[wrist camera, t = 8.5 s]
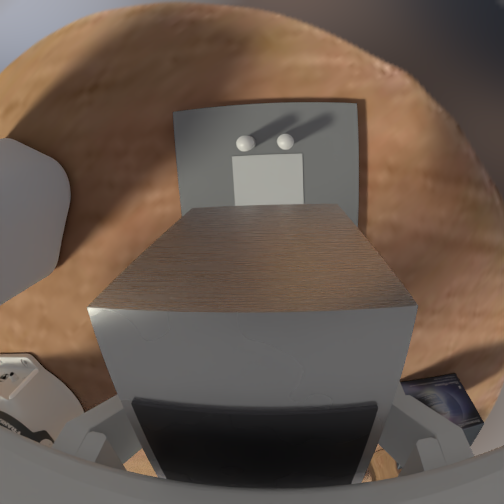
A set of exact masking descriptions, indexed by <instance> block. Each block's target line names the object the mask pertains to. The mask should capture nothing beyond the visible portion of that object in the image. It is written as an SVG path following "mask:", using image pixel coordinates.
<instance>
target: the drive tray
mask: <svg viewBox="0 0 504 504" xmlns="http://www.w3.org/2000/svg"><path fill="white" fill-rule="evenodd" d="M173 122H174V136H175V149H176V161H177V172H178V183H179V193H180V203H181V212H182V217H183V216H184V215H185V214H186V213H187V212H188V211H189V210H191V209H192V208H200V207H221V206H246V205H280V204H338V205H339V207H340V208H341V209H342V210H343V211H344V212H345V214H346V215H347V216H348V217H349V218H350V219H351V221H352V222H353V223H354V224H355V225H356V226H357V228H358V206H359V144H358V115H357V103H331V102H289V103H262V104H245V105H231V106H220V107H210V108H200V109H192V110H184V111H177V112H173Z"/></svg>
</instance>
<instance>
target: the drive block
mask: <svg viewBox="0 0 504 504" xmlns="http://www.w3.org/2000/svg"><path fill="white" fill-rule="evenodd" d="M87 309H88V313H89V316H90V319H91V322H92V326H93V329H94V332H95V335H96V338H97V341H98V344H99V347H100V350H101V352H102V355H103V358H104V361H105V363H106V366H107V369H108V371H109V374H110V377H111V379H112V382H113V384H114V387H115V389H116V391H117V394H118V396H119V399H120V401H121V403H122V406H123V408H124V410H125V412H126V415H127V417H128V419H129V421H130V423H131V426H132V428H133V430H134V432H135V434H136V436H137V438H138V440H139V442H140V444H141V446H142V448H143V450H144V452H145V454H146V456H147V458H148V460H149V461H150V463H151V465H152V467H153V469H154V471H155V472H156V474H157V476H158V478H163V479H169V480H175V481H181V482H188V483H196V484H204V485H214V486H225V487H240V488H269V489H284V488H313V487H328V486H339V485H348V484H357V483H361V482H362V480H363V477H364V475H365V473H366V471H367V468H368V466H369V464H370V462H371V459H372V457H373V454H374V452H375V449H376V447H377V444H378V442H379V439H380V437H381V434H382V431H383V429H384V426H385V423H386V420H387V418H388V415H389V412H390V409H391V406H392V403H393V400H394V397H395V394H396V391H397V387H398V384H399V381H400V377H401V374H402V370H403V367H404V363H405V360H406V356H407V352H408V348H409V344H410V340H411V336H412V332H413V327H414V323H415V318H416V314H417V309H418V305H417V303H416V302H415V301H414V299H413V298H412V297H411V295H410V294H409V292H408V291H407V290H406V288H405V287H404V286H403V284H402V283H401V282H400V280H399V279H398V278H397V276H396V275H395V274H394V273H393V271H392V270H391V269H390V267H389V266H388V265H387V264H386V262H385V261H384V260H383V258H382V257H381V256H380V255H379V253H378V252H377V251H376V250H375V248H374V247H373V246H372V245H371V243H370V242H369V241H368V240H367V239H366V237H365V236H364V235H363V234H362V232H361V231H360V230H359V229H358V228H357V226H356V225H355V224H354V223H353V222H352V221H351V219H350V218H349V217H348V216H347V215H346V214H345V212H344V211H343V210H342V209H341V208H340V207H339V205H338V204H280V205H246V206H221V207H200V208H192V209H191V210H189V211H188V212H187V213H186V214H185V215H184V216H183V217H181V218H180V219H179V220H178V221H177V222H176V223H175V224H174V225H172V226H171V227H170V228H169V229H168V230H167V231H166V232H165V233H164V234H162V235H161V236H160V237H159V238H158V239H157V240H156V241H155V242H154V243H153V244H152V245H150V246H149V247H148V248H147V249H146V250H145V251H144V252H143V253H142V254H141V255H140V256H139V257H138V258H137V259H135V260H134V261H133V262H132V263H131V264H130V265H129V266H128V267H127V268H126V269H125V270H124V271H123V272H122V273H121V274H120V275H119V276H118V277H117V278H116V279H115V280H114V281H113V282H112V283H111V284H109V285H108V286H107V287H106V288H105V289H104V290H103V291H102V292H101V293H100V294H99V295H98V296H97V297H96V298H95V299H94V300H93V301H92V302H91V303H90V304H89V305H88V306H87Z"/></svg>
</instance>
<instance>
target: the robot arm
mask: <svg viewBox="0 0 504 504" xmlns="http://www.w3.org/2000/svg"><path fill="white" fill-rule="evenodd" d="M378 444H379V445H380V446H381V447H382V448H383V449H384V450H385V451H386V452H387V453H388V454H389V455H390V456H391V457H392V458H393V459H394V460H395V461H396V462H397V463H398V464H399V465H400V466H401V467H402V470H401V472H400V473H399V475H398V477H395V478H389V479H384V480H378V481H371V482H364V483H357V484H348V485H339V486H328V487H313V488H284V489H269V488H240V487H225V486H214V485H204V484H196V483H188V482H181V481H175V480H169V479H163V478H158V477H153V476H148V475H143V474H138V473H134V472H129V471H127V470H126V469H125V467H124V466H123V464H124V463H125V462H126V461H127V460H128V459H130V458H131V457H132V456H133V455H134V454H136V453H137V452H138V451H139V450H140V449H141V448H142V446H141V444H140V442H139V440H138V438H137V436H136V434H135V432H134V430H133V428H132V426H131V423H130V421H129V419H128V417H127V415H126V412H125V410H124V408H123V406H122V403H121V401H120V399H119V396H118V394H117V395H115V396H113V397H112V398H110V399H108V400H106V401H105V402H103V403H101V404H99V405H98V406H96V407H94V408H92V409H90V410H89V411H87V412H85V413H84V411H83V408H82V406H81V404H80V402H79V401H78V399H77V398H76V397H75V395H74V394H73V393H72V392H71V391H70V390H69V388H68V387H67V386H66V385H65V384H63V383H62V382H61V381H60V380H59V379H58V378H56V377H55V376H54V375H52V374H51V373H50V372H48V371H47V370H46V369H45V368H43V366H42V365H41V364H40V363H39V362H38V361H37V360H36V359H35V358H34V357H33V356H32V355H31V354H0V504H504V445H503V446H501V447H499V448H496V449H494V450H491V451H488V452H486V453H483V454H480V455H477V456H474V454H473V452H472V450H471V448H470V445H469V443H468V441H467V439H466V436H465V434H464V432H463V430H462V428H460V427H459V426H457V425H456V424H454V423H452V422H451V421H449V420H448V419H446V418H445V417H443V416H442V415H440V414H438V413H437V412H435V411H434V410H432V409H431V408H429V407H428V406H426V405H424V404H423V403H421V402H420V401H418V400H417V399H415V398H414V397H412V396H411V395H405V393H404V390H403V388H402V385H401V383H400V381H399V384H398V387H397V391H396V394H395V397H394V400H393V403H392V406H391V409H390V412H389V415H388V418H387V420H386V423H385V426H384V429H383V431H382V434H381V437H380V439H379V442H378Z"/></svg>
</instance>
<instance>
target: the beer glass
mask: <svg viewBox="0 0 504 504" xmlns="http://www.w3.org/2000/svg"><path fill="white" fill-rule="evenodd" d="M401 470H402V469H397V462H396V461H395V460H394V459H393V458H392V457H391V456H390V455H389V454H388V453H387V452H386V451H385V450H384V449H382V450H379V451H376V452H374V454H373V457H372V459H371V462H370V464H369V466H368V471H369V473H370V476H371V481H378V480H384V479H389V478H395V477H398V475H399V473H400V472H401Z"/></svg>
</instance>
